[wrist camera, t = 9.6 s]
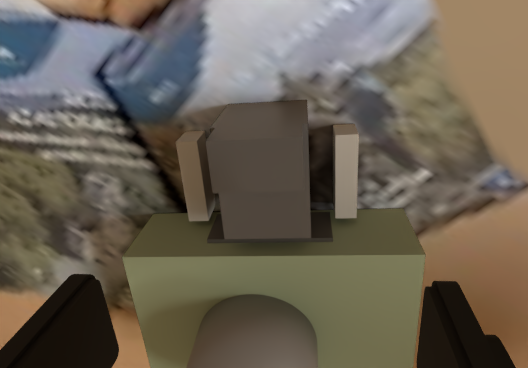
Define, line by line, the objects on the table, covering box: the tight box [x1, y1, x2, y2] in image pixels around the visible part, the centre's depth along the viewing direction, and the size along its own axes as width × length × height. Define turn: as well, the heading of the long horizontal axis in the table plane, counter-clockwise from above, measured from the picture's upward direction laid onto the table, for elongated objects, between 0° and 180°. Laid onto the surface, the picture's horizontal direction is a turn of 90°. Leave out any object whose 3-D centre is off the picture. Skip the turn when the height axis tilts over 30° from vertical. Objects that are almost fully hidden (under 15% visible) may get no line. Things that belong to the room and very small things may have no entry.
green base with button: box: [122, 124, 426, 368], centre depth 22 cm, size 16×16×10 cm
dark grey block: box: [206, 100, 311, 239], centre depth 21 cm, size 4×6×7 cm
